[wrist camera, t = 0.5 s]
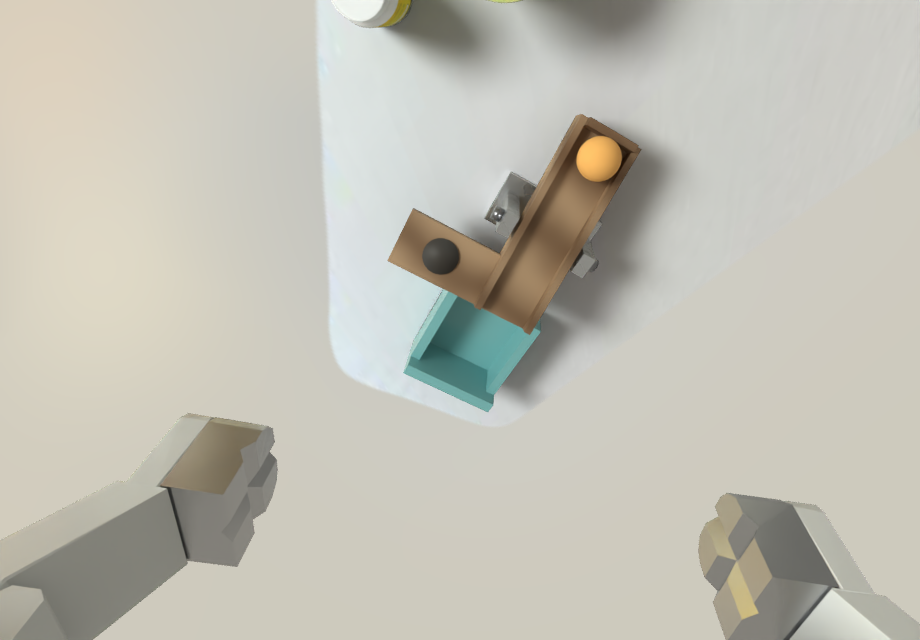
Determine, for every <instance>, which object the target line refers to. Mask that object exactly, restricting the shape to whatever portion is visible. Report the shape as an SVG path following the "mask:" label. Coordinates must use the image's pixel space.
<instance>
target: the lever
mask: <svg viewBox="0 0 920 640" xmlns="http://www.w3.org/2000/svg"><path fill="white" fill-rule="evenodd" d="M596 136H605V137H609V138H611V139H613V140H614V141H615V142H616V143H617V144H618V146H619V147H620V150H621V154H622V161H621V165H620V167H619V169H618V171H617V172H616V173H615V174H614V175H613V176H612V177H611V178H609V179H607V180H605V181H601V182H594V181H590V180H588V179H586V178H585V177H583V176H582V175H581V173H580V172H579V170H578V167H577V154H578V151H579V149H580V147H581V146H582V145H583V144H584V143H585V142H586V141H587V140H589V139H591V138H593V137H596ZM640 151H641V149H640V148H638V145H637V144H635V143H633V142H632V141H630V140H628V139H627V138H625V137H623V136H622V135H620V134H618V133H617V132H615V131H613V130H612V129H610V128H608V127H607V126H605V125H603V124H602V123H600V122H598V121H597V120H595V119H593V118H592V117H590V118H588V117H586V116H584V115H583V114H580V115H577V116H576V117H575V118H574V120H573V122H572V124H571V126H570V127H569V129H568V131H567V133H566V135H565V136H564V138H563V140H562V142H561V144H560V145H559V147H558V149H557V151H556V153H555V154H554V156H553V158H552V160H551V162H550V164H549V165H548V167H547V169H546V171H545V173H544V174H543V176H542V178H541V180H540V182H539V183H538V185H537V187H536V189H535V191H534V192H533V194H532V196H531V198H530V200H529V201H528V203H527V205H526V207H525V209H524V210H523V212H522V214H521V216H520V219H519V220H518V222H517V224H516V225H515V227H514V229H513V230H512V232H511V234H510V236H509V238H508V239H507V241H506V243H505V245H504V247H503V248H502V250H501V252H500V253H498V252H496V251H494V250H492V249H490V248H488V247H486V246H485V245H483V244H481V243H479V242H477V241H475V240H473V239H471V238H469V237H467V236H466V235H464V234H462V233H460V232H458V231H456V230H454V229H452V228H450V227H448V226H447V225H445V224H443V223H441V222H439V221H437V220H435V219H433V218H431V217H429V216H428V215H426V214H424V213H422V212H420V211H418V210H416V209H414V208H413V210H412V212H411V214H410V216H409V218H408V220H407V222H406V224H405V226H404V228H403V230H402V232H401V234H400V236H399V238H398V240H397V242H396V244H395V246H394V248H393V250H392V253H391V255H390V257H389V259H388V261H389V262H391V263H393V264H395V265H397V266H399V267H401V268H403V269H405V270H407V271H409V272H411V273H413V274H415V275H417V276H419V277H421V278H423V279H425V280H427V281H429V282H431V283H433V284H435V285H437V286H439V287H441V288H443V289H445V290H447V291H449V292H451V293H453V294H455V295H457V296H459V297H461V298H463V299H465V300H467V301H469V302H471V303H473V304H474V307H475V308H477V309H479V310H481V308H482V309H484V310H486V311H488V312H490V313H492V314H494V315H496V316H498V317H500V318H502V319H504V320H506V321H508V322H510V323H512V324H514V325H516V326H518V327H520V328H522V329H523V331H524V332H525V333H527V334H529V335H530V334H531V333H532V331H533V329H534V328H535V326H536V324H537V323H538V321H539V319H540V318H541V316H542V314H543V313H544V311H545V309H546V308H547V306H548V304H549V303H550V301H551V299H552V298H553V296H554V294H555V293H556V291H557V289H558V288H559V286H560V284H561V283H562V281H563V279H564V278H565V276H566V274H567V273H568V271H569V269H570V268H571V266H572V264H573V263H574V261H575V259H576V258H577V256H578V254H579V253H580V251H581V249H582V248H583V246H584V244H585V243H586V241H587V239H588V238H589V236H590V234H591V233H592V231H593V229H594V227H595V226H596V224H597V222H598V221H599V219H600V217H601V216H602V214H603V212H604V211H605V209H606V207H607V206H608V204H609V202H610V201H611V199H612V197H613V196H614V194H615V192H616V191H617V189H618V187H619V186H620V184H621V182H622V181H623V179H624V177H625V176H626V174H627V172H628V171H629V169H630V167H631V166H632V164H633V162H634V161H635V159H636V157H637V156H638V154H639V152H640Z"/></svg>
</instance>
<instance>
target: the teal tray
mask: <svg viewBox="0 0 920 640" xmlns="http://www.w3.org/2000/svg"><path fill="white" fill-rule="evenodd" d="M540 332H541V326H540V319H539V321H538V323H537V324H536V326H535V328H534V329H533V331H532V333H531V334H530V335H529V334H527V333H525V332H524V331H523V329H522V328H520V327H518V326H516V325H514V324H512V323H510V322H508V321H506V320H504V319H502V318H500V317H498V316H496V315H494V314H492V313H490V312H488V311H486V310H484V309H482V308H481V310H479V309H477V308H475V307H474V304H473V303H471V302H469V301H467V300H465V299H463V298H461V297H459V296H457V295H455V294H453V293H451V292H449V291H447V290H445V289H443V290H442V292H441V294H440V296H439V297H438V299H437V301H436V302H435V304H434V306H433V308H432V309H431V311H430V313H429V315H428V316H427V318H426V320H425V322H424V323H423V325H422V327H421V329H420V330H419V332H418V334H417V336H416V337H415V339H414V341H413V344H412V347H411V350H410V353H409V356H408V360H407V363H406V366H405V369H404V372H403V373H404V374H407V375H409V376H411V377H413V378H415V379H417V380H419V381H422V382H424V383H426V384H428V385H430V386H432V387H435V388H437V389H439V390H441V391H443V392H445V393H447V394H450V395H452V396H454V397H456V398H458V399H460V400H462V401H465V402H467V403H469V404H471V405H473V406H475V407H478V408H480V409H482V410H484V411H486V412H488V411H489V410H490V409H491V407H492V406H493V402H494V394H495V393H496V392H497V390H498V389H499V388H500V386H501V385H502V384H503V382H504V381H505V380H506V378H507V377H508V375H509V374H510V373H511V371H512V370H513V369H514V367H515V366H516V365H517V363H518V362H519V361H520V359H521V358H522V357H523V355H524V354H525V352H526V351H527V350H528V348H529V347H530V346H531V344H532V343H533V342H534V340H535V339H536V338H537V336H538V335H539V333H540Z"/></svg>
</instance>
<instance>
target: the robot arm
mask: <svg viewBox="0 0 920 640" xmlns="http://www.w3.org/2000/svg"><path fill="white" fill-rule="evenodd" d="M274 442H275V441H274V435H273V428H271V427H269V426H264V425H257V424H252V423H246V422H241V421H235V420H229V419H223V418H217V417H215V418H214V417H208V416H202V415H197V414H191V413H188V414H186V415H184V416H182V417H180V418H179V419H178V421H177V422H176V423H175V424H174V425H173V427H172V428H171V429H170V430H169V431H168V432H167V434H166V435H165V436H164V437H163V438H162V440H161V441H160V442H159V443H158V444H157V445H156V447H155V448H154V449H153V450H152V451H151V453H150V454H149V455H148V456H147V458H146V459H145V460H144V461H143V462H142V464H141V465H140V466H139V467H138V468H137V469H136V471H135V472H134V473H133V474H132V475H131V477H130V478H129V479H128V480H127V481H126V482H123V481H116V482H114V483H112V484H110V485H108V486H106V487H104V488H102V489H100V490H99V491H96V492H94V493H92V494H91V495H88V496H86V497H85V498H83V499H80V500H79V501H76V502H75V503H73V504H71V505H69V506H67V507H65V508H63V509H61V510H59V511H57V512H55V513H53V514H51V515H49V516H47V517H45V518H43V519H41V520H39V521H37V522H35V523H33V524H31V525H29V526H27V527H25V528H23V529H21V530H19V531H17V532H15V533H13V534H11V535H9V536H7V537H5V538H4V539H1V540H0V640H93V639H94V638H95V637H97V636H98V635H99V634H100V633H102V632H103V631H104V630H106V629H107V628H108V627H109V626H111V624H113V623H114V622H115V621H117V620H118V619H119V618H120V617H122V616H123V615H124V614H126V613H127V612H128V611H129V610H131V609H132V608H133V607H134V606H136V605H137V604H138V603H139V602H141V601H142V600H143V599H144V598H146V597H147V596H148V595H149V594H151V593H152V592H153V591H154V590H156V589H157V588H158V587H159V586H161V585H162V584H163V583H164V582H166V581H167V580H168V579H169V578H171V577H172V576H173V575H174V574H176V573H177V572H178V571H179V570H180V569H182V568H183V567H184V566H186V565H187V561H194V562H202V563H211V564H218V565H227V566H235V567H237V566H238V564H239V562H240V560H241V558H242V556H243V554H244V552H245V550H246V548H247V546H248V545H249V543H250V541H251V539H252V537H253V535H254V526H253V519H254V518H256V517H257V516H259V515H260V514H262V513H263V512H265V511H266V509H267V507H268V505H269V503H270V500H271V498H272V495H273V492H274V488H275V485H276V480H277V470H278V469H277V460H276V458H275V457H274V456H273V455H272V454H271V453H270V450H271V448H272V446H273V444H274ZM715 508H716V511H717V513H718V517H717V518H714V519H713V520H711V521H709V522H707V523H706V524H705V526H704V528H703V530H702V532H701V534H700V540H699V559H700V564H701V568H702V571H703V574H704V577H705V578H706V579H707V580H708V581H709V582H710V583H711V585H713V587H714V588H715V589H716V590H717V594H716V596H715V599H714V601H713V604H714V607H715V610H716V613H717V615H718V618H719V621H720V624H721V627H722V630H723V632H724V635H725V639H726V640H920V624H919V623H918V622H917V621H916V620H914V619H913V618H912V617H911V616H909V615H908V614H907V613H905V612H904V611H903V610H902V609H901V608H899V607H898V606H897V605H896V604H894V603H893V602H892V601H891V600H890V599H888V598H887V597H886V596H882V595H877V594H875V593H874V591H873V590H872V588H871V586H870V585H869V583H868V582H867V580H866V578H865V577H864V575H863V574H862V572H861V570H860V569H859V567H858V566H857V564H856V563H855V561H854V559H853V558H852V556H851V555H850V553H849V551H848V550H847V548H846V546H845V545H844V543H843V542H842V540H841V539H840V537H839V535H838V534H837V532H836V530H835V529H834V527H833V526H832V524H831V522H830V521H829V519H828V518H827V516H826V515H825V513H824V512H823V511H822V510H821V509H820V508H819V507H817V506H816V505H812V504H805V503H797V502H790V501H781V500H776V499H768V498H761V497H754V496H747V495H739V494H732V493H726V494H725V495H723V496H721V497H720V499H719V500H718V502H717V504H716V506H715Z"/></svg>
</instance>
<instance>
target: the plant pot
mask: <svg viewBox="0 0 920 640" xmlns="http://www.w3.org/2000/svg"><path fill="white" fill-rule="evenodd" d="M488 1H492V2H499V3H512V2H518V1H522V0H488Z"/></svg>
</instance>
